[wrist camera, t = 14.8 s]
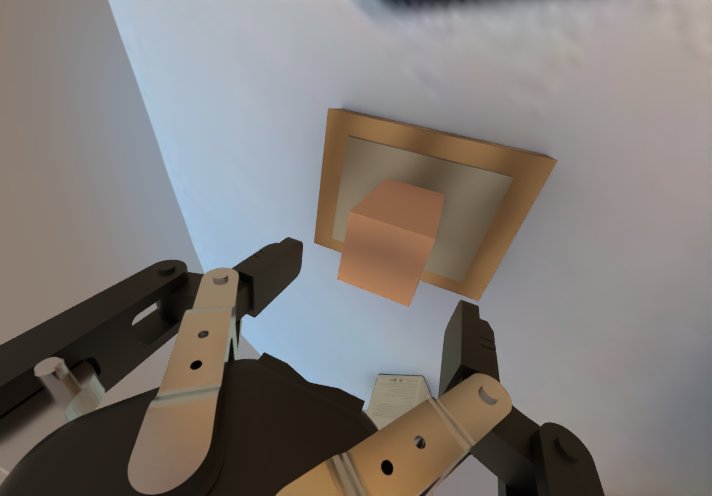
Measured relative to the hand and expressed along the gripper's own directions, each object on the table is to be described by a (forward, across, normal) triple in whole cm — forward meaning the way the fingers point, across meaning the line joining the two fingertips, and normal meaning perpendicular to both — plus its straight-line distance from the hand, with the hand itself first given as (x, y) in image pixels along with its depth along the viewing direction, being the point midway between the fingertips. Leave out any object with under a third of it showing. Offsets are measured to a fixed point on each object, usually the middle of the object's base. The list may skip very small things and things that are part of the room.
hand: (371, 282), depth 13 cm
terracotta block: (+10, 0, 0) cm, 10 cm away
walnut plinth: (+13, 0, 0) cm, 13 cm away
